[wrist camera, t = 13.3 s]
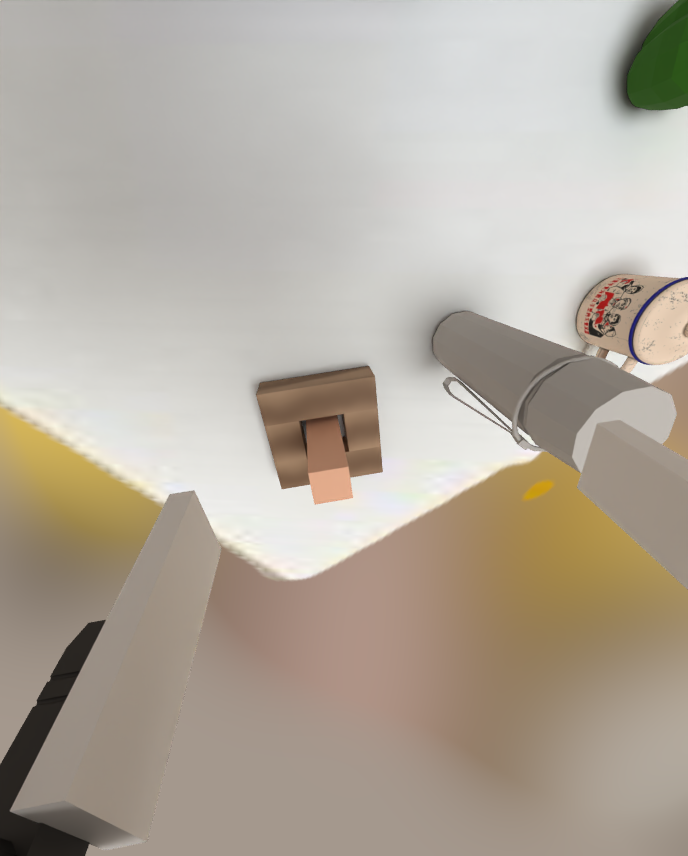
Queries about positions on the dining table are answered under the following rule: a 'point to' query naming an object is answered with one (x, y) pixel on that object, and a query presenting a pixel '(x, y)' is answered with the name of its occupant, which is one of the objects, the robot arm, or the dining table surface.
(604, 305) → the teacup with lid
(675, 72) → the bell pepper
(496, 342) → the water bottle
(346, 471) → the peg
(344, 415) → the socket block
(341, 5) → the dining table surface
